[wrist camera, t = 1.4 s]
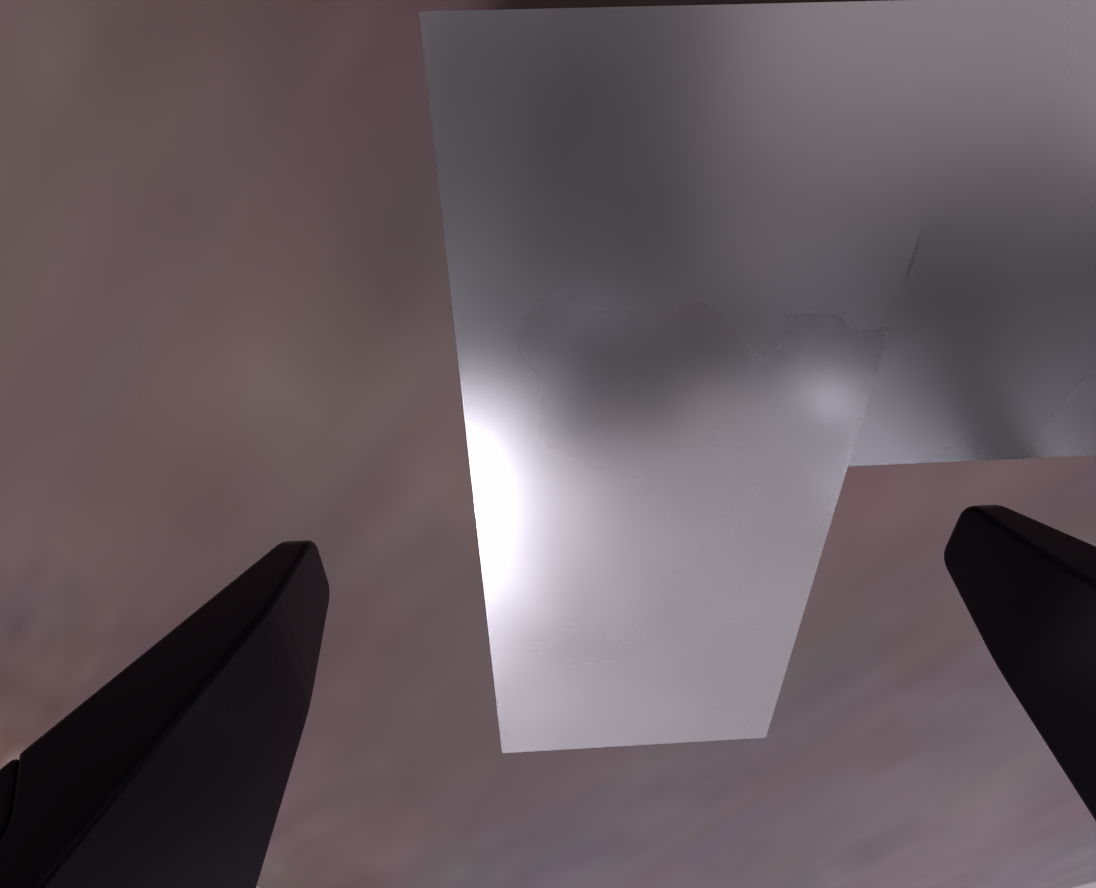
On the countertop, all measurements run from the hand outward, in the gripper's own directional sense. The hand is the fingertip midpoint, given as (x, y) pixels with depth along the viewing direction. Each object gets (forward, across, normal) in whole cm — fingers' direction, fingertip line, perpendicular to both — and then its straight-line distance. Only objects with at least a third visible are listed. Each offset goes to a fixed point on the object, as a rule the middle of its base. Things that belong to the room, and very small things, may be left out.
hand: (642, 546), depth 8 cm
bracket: (+4, -2, -2) cm, 5 cm away
